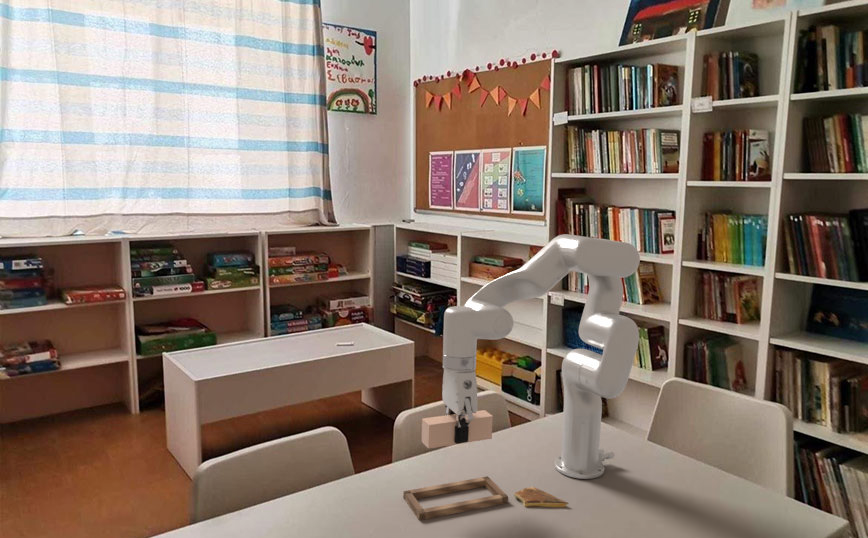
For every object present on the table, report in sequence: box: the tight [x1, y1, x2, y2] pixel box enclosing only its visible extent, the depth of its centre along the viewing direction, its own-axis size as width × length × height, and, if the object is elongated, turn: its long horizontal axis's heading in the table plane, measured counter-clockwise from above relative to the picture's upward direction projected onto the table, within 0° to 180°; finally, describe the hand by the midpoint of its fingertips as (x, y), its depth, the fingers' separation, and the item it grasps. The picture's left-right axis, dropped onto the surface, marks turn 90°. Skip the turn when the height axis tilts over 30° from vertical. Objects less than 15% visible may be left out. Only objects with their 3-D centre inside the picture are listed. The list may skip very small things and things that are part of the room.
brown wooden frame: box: [402, 476, 509, 521], centre depth 149 cm, size 22×10×2 cm, turn 112°
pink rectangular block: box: [421, 409, 494, 450], centre depth 147 cm, size 16×4×6 cm, turn 114°
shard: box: [513, 486, 569, 508], centre depth 149 cm, size 11×8×2 cm
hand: (456, 437), depth 147 cm, fingers closed on pink rectangular block, 4 cm apart
